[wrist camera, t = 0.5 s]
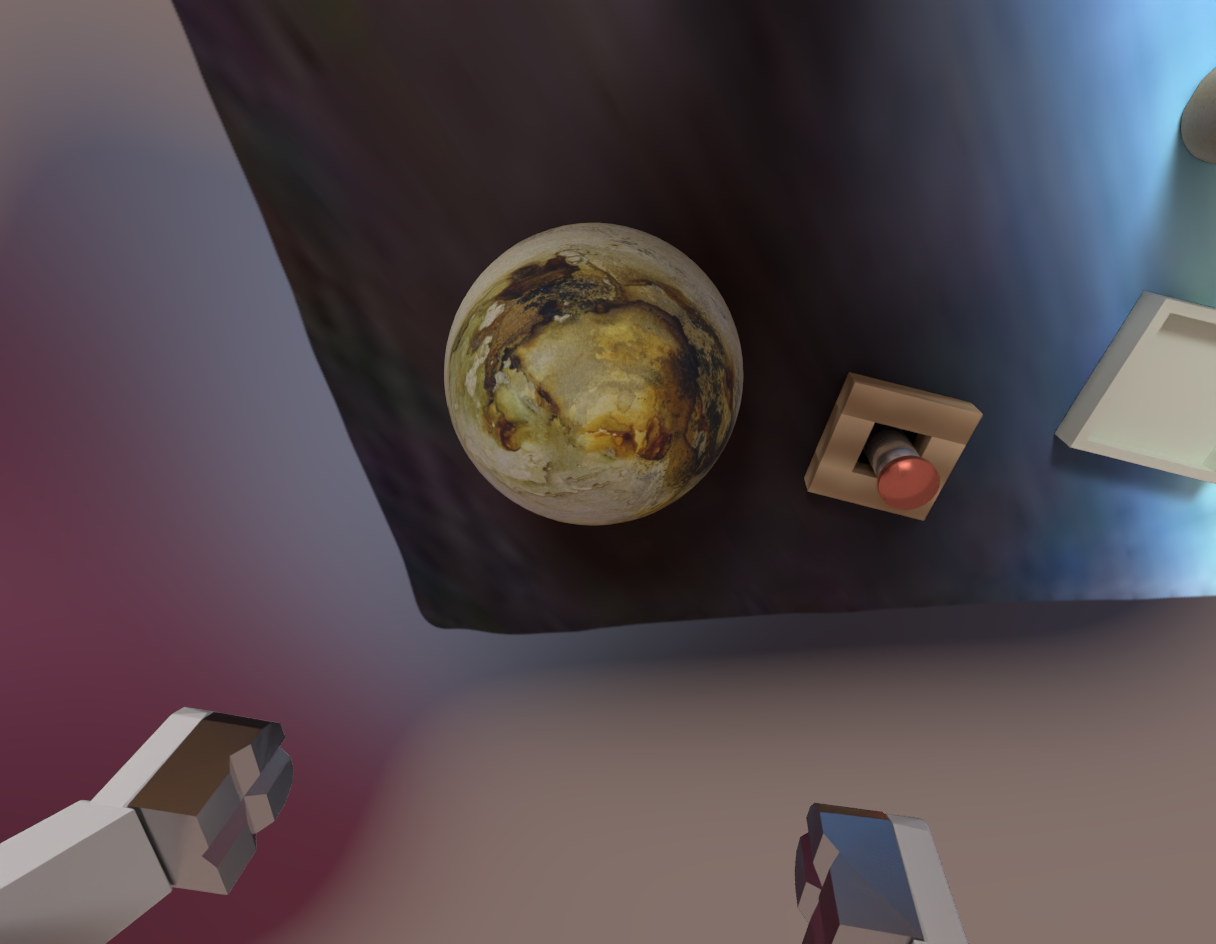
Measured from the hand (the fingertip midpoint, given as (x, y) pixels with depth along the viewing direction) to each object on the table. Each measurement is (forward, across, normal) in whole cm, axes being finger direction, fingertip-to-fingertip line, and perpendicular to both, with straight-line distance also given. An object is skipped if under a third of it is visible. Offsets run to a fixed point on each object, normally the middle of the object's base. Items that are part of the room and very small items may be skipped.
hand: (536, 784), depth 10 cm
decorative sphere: (+45, +4, +6) cm, 45 cm away
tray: (+44, -39, +6) cm, 59 cm away
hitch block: (+44, -19, +13) cm, 50 cm away
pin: (+44, -19, +13) cm, 50 cm away
